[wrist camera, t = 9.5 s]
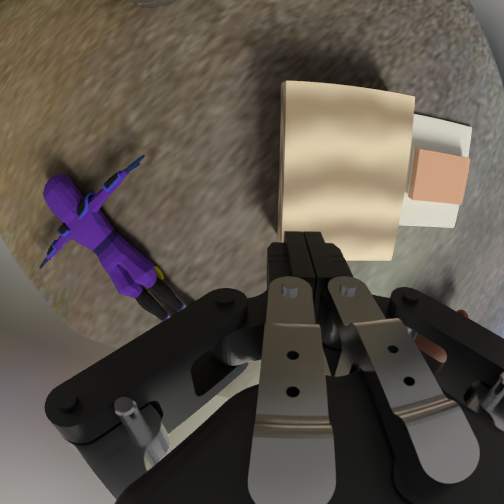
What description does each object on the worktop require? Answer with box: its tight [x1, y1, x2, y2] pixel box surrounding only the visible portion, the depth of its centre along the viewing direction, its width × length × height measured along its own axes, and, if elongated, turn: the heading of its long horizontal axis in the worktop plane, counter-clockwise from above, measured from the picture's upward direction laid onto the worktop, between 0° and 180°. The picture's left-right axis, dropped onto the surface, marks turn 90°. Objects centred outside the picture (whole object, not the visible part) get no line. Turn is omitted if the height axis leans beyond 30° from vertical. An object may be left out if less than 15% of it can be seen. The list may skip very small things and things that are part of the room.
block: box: [277, 81, 415, 260], centre depth 35 cm, size 20×14×7 cm
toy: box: [40, 155, 186, 321], centre depth 42 cm, size 27×6×30 cm
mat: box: [399, 114, 472, 228], centre depth 37 cm, size 16×12×1 cm
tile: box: [407, 147, 470, 205], centre depth 36 cm, size 7×9×2 cm
